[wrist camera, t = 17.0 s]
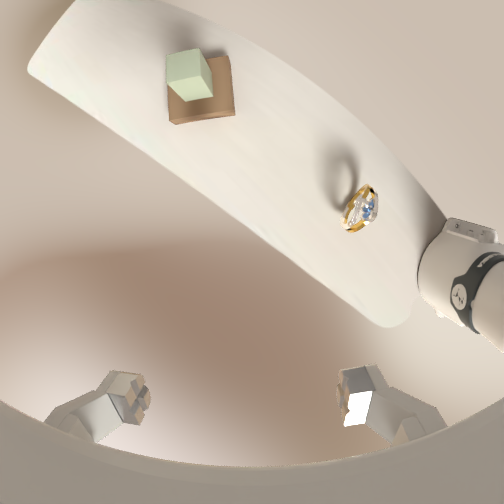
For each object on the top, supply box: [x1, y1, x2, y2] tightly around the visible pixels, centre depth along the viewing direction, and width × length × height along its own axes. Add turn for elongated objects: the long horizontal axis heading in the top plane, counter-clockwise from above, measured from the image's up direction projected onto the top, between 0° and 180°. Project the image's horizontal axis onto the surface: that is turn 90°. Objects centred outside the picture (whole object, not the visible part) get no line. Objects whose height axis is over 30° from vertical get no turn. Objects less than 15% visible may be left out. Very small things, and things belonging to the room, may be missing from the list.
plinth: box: [168, 56, 235, 125], centre depth 33 cm, size 9×9×3 cm
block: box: [166, 48, 213, 102], centre depth 28 cm, size 4×4×8 cm
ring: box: [340, 184, 378, 233], centre depth 34 cm, size 7×3×8 cm, turn 146°
